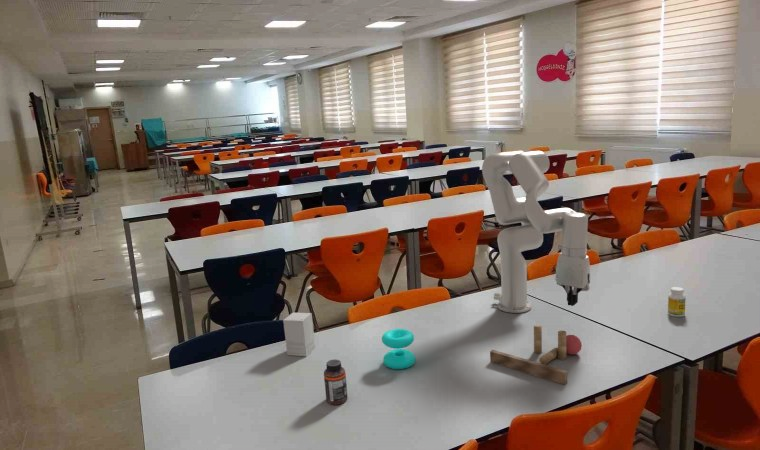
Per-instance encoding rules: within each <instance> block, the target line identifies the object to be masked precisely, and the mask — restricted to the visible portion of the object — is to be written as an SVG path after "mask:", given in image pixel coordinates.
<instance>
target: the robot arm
mask: <svg viewBox="0 0 760 450" xmlns="http://www.w3.org/2000/svg"><path fill="white" fill-rule="evenodd" d="M550 164H551V163H550V158H549V157H548V155H547V153H545V152H544V151H541V150H524V149H523V150H522V149H521V150H511V151H501V152H494V153H491V154H489V155H487V156H485V158H484V160H483V162H482V165H481V166H482V167H481V172H482V177H483V180H484V183H485V184H486V187H487V188H488V191H489V195H490V199H491V204H492V207H493V211H494V215H495V218H496V221H497V222H498V223H499V224H500V225H512V224H519V223H521V225H515V226H510V227H507V228H504V229H502V230H500V231H499V233H498V234H497V246H498V250H499V257H500V259H499V260H500V275H501V277H500V278H501V280H500V282H501V293H498V292H494V294H493V300H497V301H498V303H497V309H498V310H500V311H502V312H504V313H510V314H511V313H512V314H521V313H526V312H529V311H530V310H531V309H532V304H531V302H530V301H528V278H527V277H528V276H527V275H528V273H527V272H528V271H527V261H526V259H525V257H524V256H523V254H522V252H525V251H530V250H535V249H538V248H539V247H541V246H542V245H543V242H544V234H551V233H556V232H557V233H558V232H562V234H561V236H562V237H561V244H560V245H558V247H557V249H558V250H560V253H559V254H558V258H557V262H556V267H555V282H556V285H558V286H560V287H562V288H563V290H565V293H566V302H567V305H568V306H570V307H574V306H575V305H576V304H578V301H579V293H580V292H588V291H590V289H591V288H590V284H591V265H590V257H589V255H587V253H588V252H587V250H588V247H587V246H588V227H589V218H588V215H586V213H583V212H577V211H575V210H573V209H572V208H569V207H560V208H552V209H546V210H545V209H543V208H542V206H541V205H540V203H539V201H538V198H539V197H541V196H542V195H543V194H544V193H545V192H546V191H547V190H548V188H549V186H550V182H549V180H548V179H547V177H546V175H545V174H544V173H547V171H548V170H549V169H550ZM505 175H513V176H514V177H515V179H516V181H517V182H518V184H519V185H520V187H521V188H522V190H523V191H524V193H525V196H524V197H523V196H521V197H520V196H519V197H516V196H515V194H514V189H513V186H512V185H511V183H510V182H509V181H508V179H506V178H505V177H504V176H505Z"/></svg>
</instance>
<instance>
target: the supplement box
mask: <svg viewBox="0 0 760 450" xmlns="http://www.w3.org/2000/svg"><path fill="white" fill-rule="evenodd" d="M312 314H313V313H312V312H291V313H290V314H289V315H288V316H287V317H286V318H284V319H282V323H283V330H284V336H285V337H284V338H285V348H286V353H287V354H286V355H287V356H295V357H296V356H297V357H308V356H309V354H311V353H312V352H313V351H314V350H315V348H316V344H315V343H316V342H315V334H314V332H315V331H314V323H313V315H312Z"/></svg>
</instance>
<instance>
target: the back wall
mask: <svg viewBox="0 0 760 450" xmlns="http://www.w3.org/2000/svg"><path fill="white" fill-rule="evenodd" d="M489 355H490V356H489V359H490V361H489V362H490V363H492V364H496V365H499V366H502V367H505V368H509V369H512V370H515V371H519V372H521V373H526V374H528V375H532V376H534V377H537V378H541V379H545V380H547V381H551V382H554V383H558V384H561V385H566V384H567V383H568V370H565V369H561V368H557V367H554V366H552V365H548V364H545V365H544V364H541V362H536V361H533V360H530V359H527V358H523V357H520V356H515V355H513V354H511V353H510V354H509V353H506V352H502V351H499V350H496V349H491V350H490V352H489Z"/></svg>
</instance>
